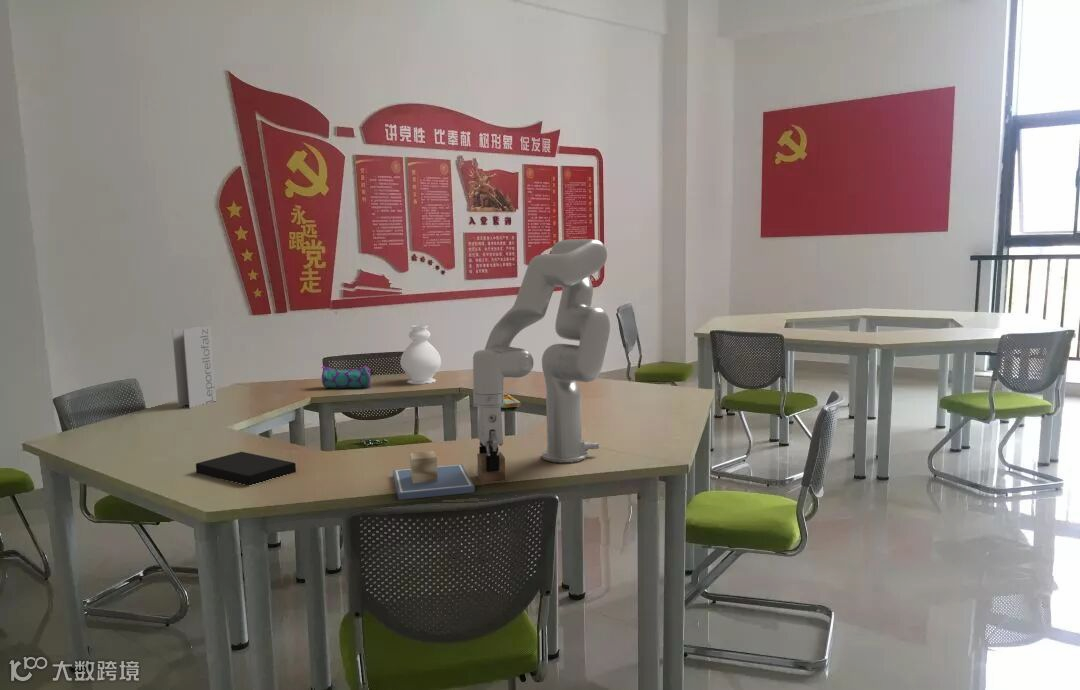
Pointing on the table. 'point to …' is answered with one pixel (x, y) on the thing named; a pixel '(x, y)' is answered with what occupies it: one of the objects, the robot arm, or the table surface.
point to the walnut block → (490, 476)
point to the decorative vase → (420, 357)
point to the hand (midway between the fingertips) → (489, 466)
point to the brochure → (194, 366)
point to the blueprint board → (434, 483)
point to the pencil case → (346, 378)
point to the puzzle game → (509, 403)
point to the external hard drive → (245, 468)
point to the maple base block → (423, 467)
